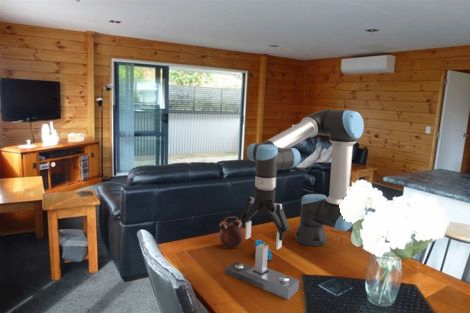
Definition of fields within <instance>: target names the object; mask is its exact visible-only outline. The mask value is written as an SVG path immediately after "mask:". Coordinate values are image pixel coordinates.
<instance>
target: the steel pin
mask: <svg viewBox="0 0 470 313" xmlns="http://www.w3.org/2000/svg"><path fill="white" fill-rule="evenodd" d="M266 245H267V244H265V245H263V244H260V245H258V246H256V245H255V247H256V248H255V254H256V257H255V260H254V261H255V262H254V266H255V273H257V274H260V275H262V276H263V275H264V274H266V273H267V268H268V260H267V256H268V250H269V247H268V246H269V245H268V246H266Z"/></svg>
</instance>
